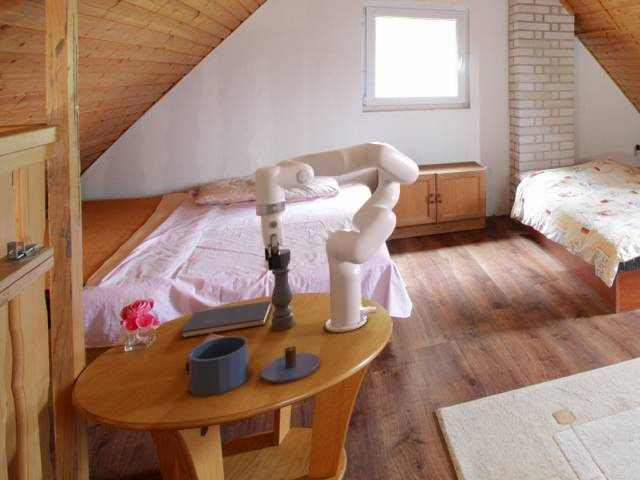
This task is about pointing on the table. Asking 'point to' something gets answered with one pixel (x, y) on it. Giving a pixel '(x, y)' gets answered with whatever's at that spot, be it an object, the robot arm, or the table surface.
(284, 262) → the candle holder
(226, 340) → the blue pot
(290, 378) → the lid
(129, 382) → the table surface
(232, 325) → the hardcover book
